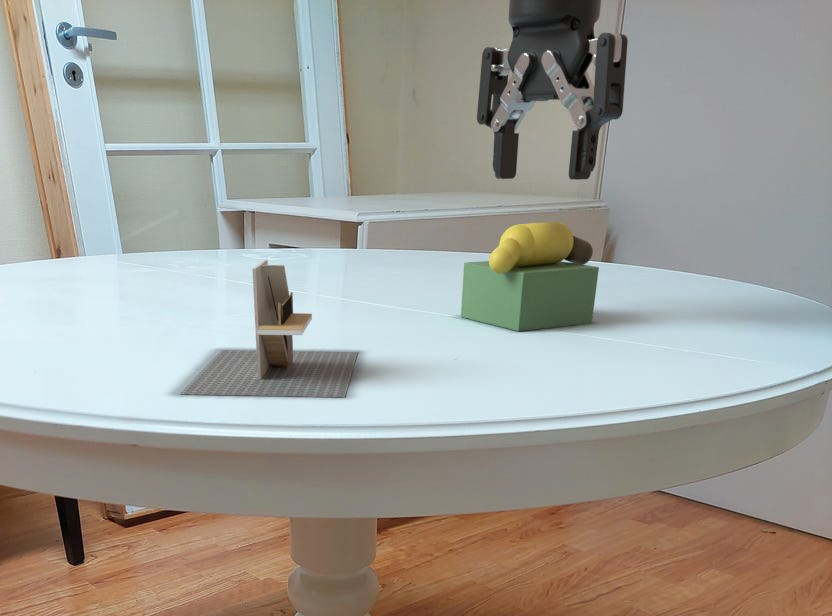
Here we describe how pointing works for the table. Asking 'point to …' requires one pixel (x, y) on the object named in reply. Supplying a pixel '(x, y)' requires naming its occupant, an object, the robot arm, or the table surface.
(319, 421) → the table surface
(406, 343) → the table surface
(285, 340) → the architectural model
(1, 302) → the table surface
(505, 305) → the block
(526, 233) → the knobbed yellow capsule
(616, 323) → the table surface
